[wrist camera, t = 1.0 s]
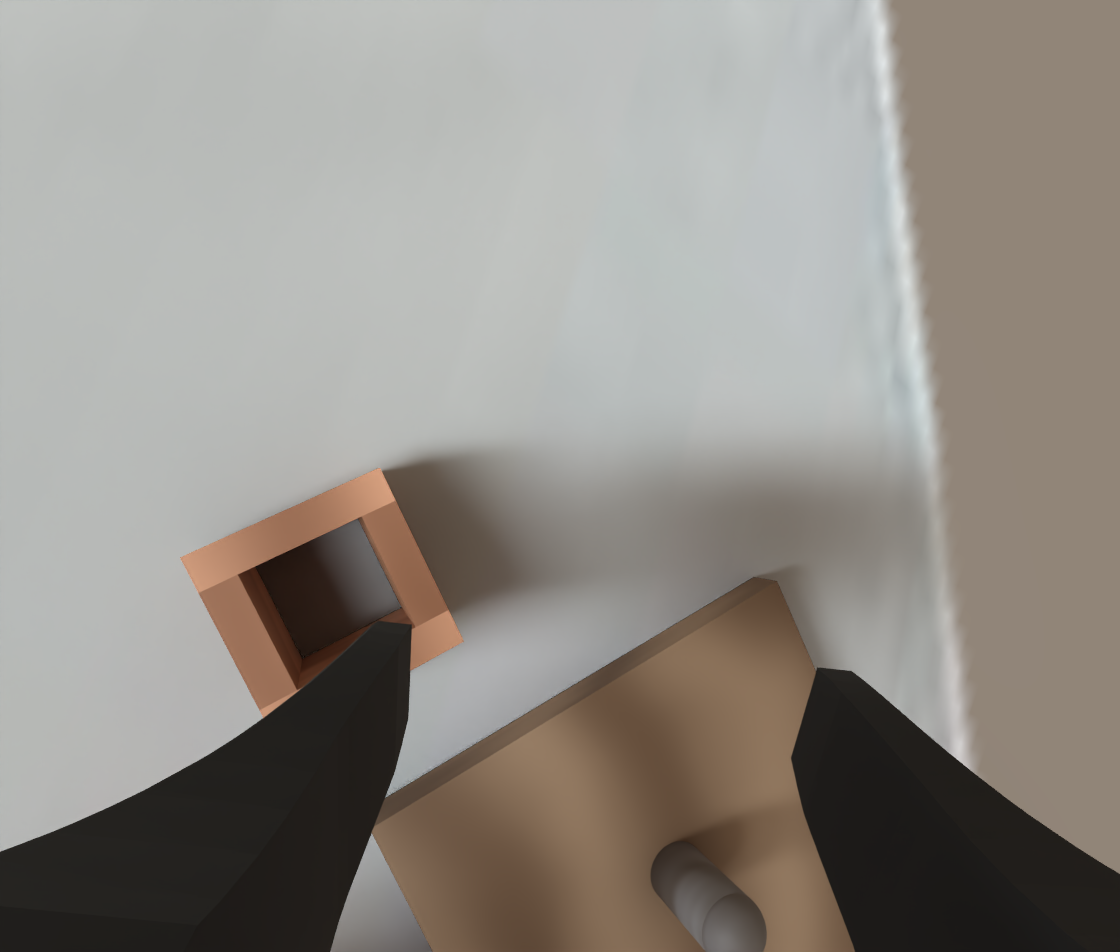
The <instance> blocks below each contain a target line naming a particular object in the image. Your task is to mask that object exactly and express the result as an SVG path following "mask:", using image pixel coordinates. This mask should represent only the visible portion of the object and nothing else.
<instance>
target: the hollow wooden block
mask: <svg viewBox="0 0 1120 952" xmlns="http://www.w3.org/2000/svg"><path fill="white" fill-rule="evenodd" d="M357 518H358V520H359V522H360V524H361V526H362V528H363V530H364V532H365V534H366V536H367V538H368V540H369V542H370V544H371V546H372V548H373V550H374V552H375V554H376V556H377V558H378V560H379V562H380V564H381V566H382V569H383V571H384V573H385V575H386V577H387V579H388V581H389V583H390V585H391V587H392V589H393V591H394V593H395V595H396V597H397V599H398V601H399V603H400V605H401V607H402V608H400V609H398V610H396V611H394V612H392V613H390V614H388V615H386V616H385V617H383V618H381V619H379V620H377V621H384V622H393V623H403V624H412V638H411V662H410V671H411V670H413V669H414V668H416V667H418V666H420V665H422V664H424V663H425V662H427V661H429V660H431V659H433V658H434V657H436V656H438V655H440V654H442V653H444V652H445V651H447V650H449V649H451V648H453V647H454V646H456V645H458V644H460V643H462V642H464V641H463V639H462V636H461V634H460V632H459V630H458V628H457V626H456V624H455V622H454V620H453V618H452V616H451V614H450V612H449V610H448V608H447V605H446V603H445V601H444V599H443V597H442V595H441V593H440V591H439V589H438V587H437V585H436V583H435V581H434V579H433V577H432V574H431V572H430V570H429V568H428V566H427V564H426V562H425V560H424V558H423V556H422V554H421V552H420V550H419V548H418V546H417V543H416V541H415V539H414V537H413V535H412V533H411V531H410V529H409V527H408V525H407V523H406V521H405V519H404V517H403V515H402V512H401V510H400V508H399V506H398V504H397V502H396V500H395V498H394V496H393V494H392V492H391V490H390V488H389V486H388V484H387V481H386V479H385V477H384V475H383V473H382V471H381V469H380V468H378V469H376V470H373V471H371V472H369V473H367V474H364V475H362V476H360V477H358V478H356V479H353V480H351V481H349V482H347V483H345V484H342V485H340V486H338V487H336V488H333V489H331V490H329V491H327V492H325V493H322V494H320V495H318V496H316V497H313V498H311V499H309V500H307V501H305V502H302V503H300V504H298V505H296V506H293V507H291V508H289V509H287V510H285V511H282V512H280V513H278V514H276V515H274V516H271V517H269V518H267V519H265V520H262V521H260V522H258V523H256V524H254V525H251V526H249V527H247V528H245V529H242V530H240V531H238V532H236V533H234V534H231V535H229V536H227V537H225V538H222V539H220V540H218V541H216V542H214V543H211V544H209V545H207V546H205V547H203V548H200V549H198V550H196V551H194V552H191V553H189V554H187V555H185V556H183V557H180V558H181V560H182V562H183V564H184V566H185V568H186V570H187V572H188V574H189V576H190V578H191V579H192V581H193V583H194V585H195V587H196V589H197V591H198V593H199V595H200V597H201V599H202V601H203V603H204V604H205V606H206V608H207V610H208V612H209V614H210V616H211V618H212V620H213V622H214V624H215V626H216V627H217V629H218V631H219V633H220V635H221V637H222V639H223V641H224V643H225V645H226V647H227V649H228V651H229V652H230V654H231V656H232V658H233V660H234V662H235V664H236V666H237V668H238V670H239V672H240V674H241V675H242V677H243V679H244V681H245V683H246V685H247V687H248V689H249V691H250V693H251V695H252V697H253V699H254V700H255V702H256V704H257V706H258V708H259V710H260V712H261V714H262V716H263V718H264V717H265V716H267V715H268V714H269V713H270V712H272V711H273V710H274V709H276V708H277V707H278V706H280V705H281V704H282V703H283V702H285V701H286V700H287V699H289V698H290V697H291V696H293V695H294V694H295V693H296V692H298V691H299V690H300V689H301V688H302V687H304V686H305V685H306V684H307V683H308V682H309V681H311V680H312V679H313V678H314V677H315V676H316V675H318V674H319V673H320V672H321V671H322V670H323V669H324V668H326V667H327V666H328V665H329V664H330V663H331V662H332V661H334V660H335V659H336V658H337V657H338V656H339V655H340V654H341V653H342V652H343V651H345V650H346V649H347V648H348V647H349V646H350V645H351V644H352V643H353V642H354V641H355V640H356V639H357V638H358V637H359V636H360V635H362V634H363V633H364V632H365V631H366V630H367V629H368V628H369V627H370V626H371V625H373V624H374V623H375V622H377V621H375V622H373V623H371V624H369V625H367V626H365V627H363V628H361V629H359V630H358V631H356V632H354V633H352V634H350V635H348V636H346V637H344V638H342V639H340V640H338V641H336V642H334V643H332V644H331V645H329V646H327V647H325V648H323V649H321V650H319V651H317V652H315V653H313V654H311V655H309V656H307V657H305V658H304V659H302V658H301V656H300V654H299V652H298V650H297V648H296V646H295V644H294V642H293V640H292V638H291V636H290V634H289V632H288V630H287V628H286V626H285V624H284V622H283V620H282V618H281V616H280V615H279V613H278V611H277V609H276V607H275V605H274V603H273V601H272V599H271V597H270V595H269V593H268V591H267V589H266V587H265V585H264V583H263V581H262V579H261V577H260V575H259V573H258V571H257V569H256V567H255V566H257V565H259V564H261V563H263V562H266V561H268V560H270V559H272V558H274V557H276V556H278V555H280V554H283V553H285V552H287V551H289V550H291V549H293V548H295V547H298V546H300V545H302V544H304V543H306V542H308V541H310V540H312V539H315V538H317V537H319V536H321V535H323V534H325V533H327V532H330V531H332V530H334V529H336V528H338V527H340V526H342V525H344V524H347V523H349V522H351V521H353V520H355V519H357Z"/></svg>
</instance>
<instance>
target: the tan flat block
mask: <svg viewBox="0 0 1120 952" xmlns="http://www.w3.org/2000/svg"><path fill="white" fill-rule="evenodd" d="M815 674H816V671H815V668H814V666H813V664H812V661H811V659H810V657H809V654H808V652H807V650H806V648H805V645H804V643H803V641H802V638H801V636H800V634H799V631H798V629H797V627H796V624H795V622H794V620H793V617H792V615H791V613H790V610H789V608H788V606H787V604H786V601H785V599H784V597H783V594H782V592H781V590H780V587H779V585H778V583H777V581H773V580H767V579H761V578H755V577H753V578H752V579H750V580H748V581H747V582H745V583H743V584H742V585H740V586H738V587H737V588H735V589H733V590H732V591H730V592H728V593H727V594H725V595H723V596H722V597H720V598H718V599H717V600H715V601H713V602H712V603H710V604H708V605H707V606H705V607H703V608H702V609H700V610H698V611H697V612H695V613H693V614H692V615H690V616H688V617H687V618H685V619H683V620H682V621H680V622H678V623H677V624H675V625H673V626H672V627H670V628H668V629H667V630H665V631H663V632H662V633H660V634H658V635H657V636H655V637H653V638H652V639H650V640H648V641H647V642H645V643H643V644H642V645H640V646H638V647H637V648H635V649H633V650H632V651H630V652H628V653H627V654H625V655H623V656H622V657H620V658H618V659H617V660H615V661H613V662H612V663H610V664H608V665H607V666H605V667H603V668H602V669H600V670H598V671H597V672H595V673H593V674H592V675H590V676H588V677H587V678H585V679H583V680H582V681H580V682H578V683H577V684H575V685H573V686H572V687H570V688H568V689H567V690H565V691H563V692H562V693H560V694H558V695H557V696H555V697H553V698H552V699H550V700H548V701H547V702H545V703H543V704H542V705H540V706H538V707H537V708H535V709H533V710H532V711H530V712H528V713H527V714H525V715H523V716H522V717H520V718H518V719H517V720H515V721H513V722H512V723H510V724H508V725H507V726H505V727H503V728H502V729H500V730H498V731H497V732H495V733H493V734H492V735H490V736H488V737H487V738H485V739H483V740H482V741H480V742H478V743H477V744H475V745H473V746H472V747H470V748H468V749H467V750H465V751H463V752H462V753H460V754H458V755H457V756H455V757H453V758H452V759H450V760H448V761H447V762H445V763H443V764H442V765H440V766H438V767H437V768H435V769H433V770H432V771H430V772H428V773H427V774H425V775H423V776H422V777H420V778H418V779H417V780H415V781H413V782H412V783H410V784H408V785H407V786H405V787H403V788H402V789H400V790H398V791H397V792H395V793H393V794H392V795H390V796H388V797H387V798H385V799H384V802H383V804H382V807H381V809H380V812H379V815H378V817H377V820H376V823H375V825H374V828H373V830H372V834H373V836H374V838H375V840H376V842H377V844H378V846H379V848H380V850H381V852H382V854H383V856H384V858H385V860H386V862H387V863H388V865H389V867H390V869H391V871H392V873H393V875H394V877H395V879H396V881H397V883H398V885H399V887H400V889H401V891H402V893H403V895H404V897H405V899H406V901H407V902H408V904H409V906H410V908H411V910H412V912H413V914H414V916H415V918H416V920H417V922H418V924H419V926H420V928H421V930H422V932H423V934H424V936H425V938H426V940H427V941H428V943H429V945H430V947H431V949H432V951H433V952H855V950H854V947H853V944H852V941H851V939H850V936H849V933H848V931H847V928H846V925H845V923H844V920H843V917H842V915H841V912H840V910H839V907H838V904H837V902H836V899H835V896H834V894H833V891H832V888H831V886H830V883H829V881H828V878H827V875H826V873H825V870H824V867H823V865H822V862H821V859H820V857H819V854H818V851H817V849H816V846H815V843H814V841H813V838H812V835H811V832H810V830H809V827H808V824H807V821H806V819H805V816H804V813H803V809H802V805H801V801H800V797H799V793H798V789H797V784H796V779H795V775H794V770H793V766H792V761H791V756H792V752H793V749H794V746H795V742H796V739H797V735H798V732H799V729H800V725H801V722H802V718H803V715H804V712H805V708H806V705H807V701H808V698H809V695H810V691H811V688H812V684H813V681H814V678H815Z"/></svg>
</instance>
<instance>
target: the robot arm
mask: <svg viewBox="0 0 1120 952" xmlns="http://www.w3.org/2000/svg"><path fill="white" fill-rule="evenodd" d="M411 638H412V624H403V623H393V622H384V621H377V622H375V623H374V624H373V625H371V626H370V627H369V628H368V629H367V630H366V631H365V632H364V633H363V634H362V635H360V636H359V637H358V638H357V639H356V640H355V641H354V642H353V643H352V644H351V645H350V646H349V647H348V648H347V649H346V650H345V651H343V652H342V653H341V654H340V655H339V656H338V657H337V658H336V659H335V660H334V661H332V662H331V663H330V664H329V665H328V666H327V667H326V668H324V669H323V670H322V671H321V672H320V673H319V674H318V675H316V676H315V677H314V678H313V679H312V680H311V681H309V682H308V683H307V684H306V685H305V686H304V687H302V688H301V689H300V690H299V691H298V692H296V693H295V694H294V695H293V696H291V697H290V698H289V699H287V700H286V701H285V702H283V703H282V704H281V705H280V706H278V707H277V708H276V709H274V710H273V711H272V712H270V713H269V714H268V715H267V716H265V717H264V718H263V719H261V720H260V721H259V722H257V723H256V724H254V725H253V726H252V727H250V728H249V729H247V730H246V731H245V732H243V733H242V734H240V735H239V736H237V737H236V738H234V739H233V740H231V741H230V742H228V743H226V744H225V745H223V746H222V747H220V748H219V749H217V750H215V751H214V752H212V753H211V754H209V755H207V756H206V757H204V758H202V759H201V760H199V761H197V762H195V763H193V764H191V765H190V766H188V767H186V768H184V769H182V770H181V771H179V772H177V773H175V774H173V775H171V776H170V777H168V778H166V779H164V780H162V781H160V782H159V783H157V784H155V785H153V786H151V787H150V788H148V789H146V790H144V791H142V792H140V793H138V794H136V795H134V796H132V797H129V798H127V799H125V800H123V801H121V802H119V803H117V804H115V805H113V806H111V807H109V808H106V809H104V810H102V811H100V812H97V813H95V814H93V815H91V816H89V817H86V818H84V819H82V820H80V821H77V822H75V823H73V824H70V825H68V826H66V827H63V828H61V829H58V830H56V831H54V832H51V833H49V834H46V835H43V836H41V837H38V838H35V839H33V840H30V841H28V842H25V843H22V844H20V845H17V846H14V847H12V848H9V849H7V850H4V851H1V852H0V952H330V950H331V947H332V943H333V939H334V936H335V932H336V929H337V925H338V922H339V919H340V916H341V913H342V910H343V907H344V904H345V901H346V898H347V895H348V893H349V890H350V887H351V885H352V882H353V880H354V877H355V874H356V872H357V869H358V867H359V864H360V861H361V859H362V856H363V854H364V851H365V848H366V846H367V843H368V841H369V838H370V835H371V833H372V830H373V828H374V825H375V823H376V820H377V817H378V815H379V812H380V809H381V807H382V804H383V802H384V799H385V796H386V794H387V791H388V788H389V786H390V783H391V780H392V778H393V775H394V772H395V769H396V765H397V761H398V757H399V753H400V750H401V746H402V742H403V738H404V734H405V729H406V725H407V721H408V712H409V687H410V662H411ZM791 761H792V766H793V770H794V775H795V779H796V784H797V789H798V793H799V797H800V801H801V805H802V809H803V813H804V816H805V819H806V821H807V824H808V827H809V830H810V832H811V835H812V838H813V841H814V843H815V846H816V849H817V851H818V854H819V857H820V859H821V862H822V865H823V867H824V870H825V873H826V875H827V878H828V881H829V883H830V886H831V888H832V891H833V894H834V896H835V899H836V902H837V904H838V907H839V910H840V912H841V915H842V917H843V920H844V923H845V925H846V928H847V931H848V933H849V936H850V939H851V941H852V944H853V947H854V950H855V952H1120V874H1119V873H1117V872H1115V871H1114V870H1112V869H1110V868H1109V867H1107V866H1105V865H1104V864H1102V863H1101V862H1099V861H1097V860H1096V859H1094V858H1093V857H1091V856H1089V855H1088V854H1086V853H1085V852H1083V851H1082V850H1080V849H1078V848H1077V847H1075V846H1074V845H1072V844H1071V843H1069V842H1068V841H1066V840H1065V839H1064V838H1062V837H1061V836H1059V835H1058V834H1056V833H1055V832H1053V831H1052V830H1050V829H1049V828H1047V827H1046V826H1044V825H1043V824H1042V823H1040V822H1039V821H1037V820H1036V819H1034V818H1033V817H1031V816H1030V815H1028V814H1027V813H1026V812H1024V811H1023V810H1022V809H1020V808H1019V807H1017V806H1016V805H1015V804H1013V803H1012V802H1011V801H1009V800H1008V799H1007V798H1005V797H1004V796H1002V795H1001V794H1000V793H999V792H997V791H996V790H995V789H994V788H992V787H991V786H989V785H988V784H987V783H986V782H984V781H983V780H982V779H981V778H979V777H978V776H977V775H975V774H974V773H973V772H972V771H970V770H969V769H968V768H967V767H965V766H964V765H963V764H962V763H960V762H959V761H958V760H957V759H956V758H954V757H953V756H952V755H951V754H949V753H948V752H947V751H946V750H945V749H943V748H942V747H941V746H940V745H939V744H938V743H936V742H935V741H934V740H933V739H932V738H930V737H929V736H928V735H927V734H926V733H925V732H923V731H922V730H921V729H920V728H919V727H918V726H916V725H915V724H914V723H913V722H912V721H911V720H909V719H908V718H907V717H906V716H905V715H904V714H903V713H901V712H900V711H899V710H898V709H897V708H896V707H894V706H893V705H892V704H891V703H890V702H889V701H888V700H886V699H885V698H884V697H883V696H882V695H881V694H879V693H878V692H877V691H876V690H875V689H873V688H872V687H871V686H870V685H869V684H867V683H866V682H865V681H864V680H862V679H861V678H860V677H859V676H857V675H856V674H855V673H853V672H852V671H845V670H836V669H826V668H817V671H816V674H815V678H814V681H813V684H812V688H811V691H810V695H809V698H808V701H807V705H806V708H805V712H804V715H803V718H802V722H801V725H800V729H799V732H798V735H797V739H796V742H795V746H794V749H793V752H792V756H791Z"/></svg>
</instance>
